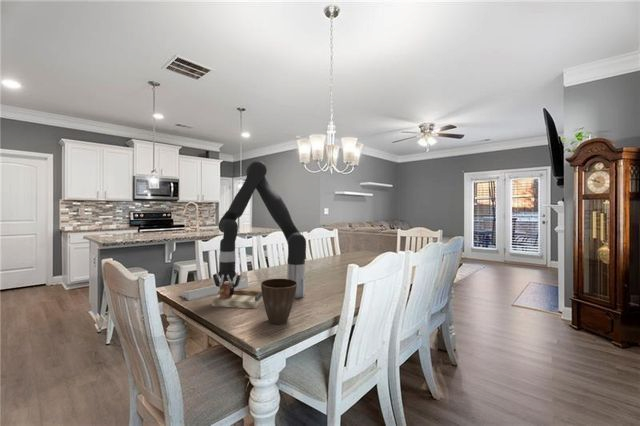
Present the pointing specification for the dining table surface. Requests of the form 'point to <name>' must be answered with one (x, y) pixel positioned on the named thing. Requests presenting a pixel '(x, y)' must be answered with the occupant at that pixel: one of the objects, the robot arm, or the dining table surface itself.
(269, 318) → the plant pot
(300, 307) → the dining table surface
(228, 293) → the reddish-brown block with stick
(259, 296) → the board
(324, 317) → the dining table surface
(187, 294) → the decorative molding
